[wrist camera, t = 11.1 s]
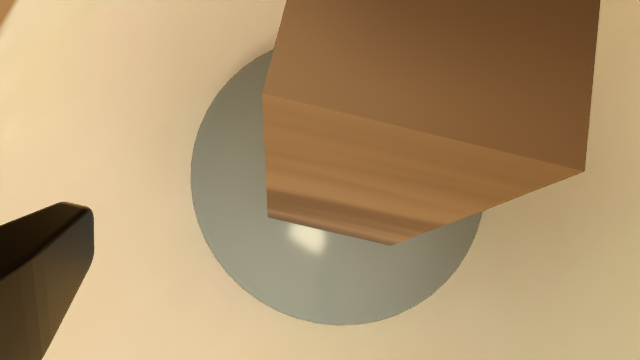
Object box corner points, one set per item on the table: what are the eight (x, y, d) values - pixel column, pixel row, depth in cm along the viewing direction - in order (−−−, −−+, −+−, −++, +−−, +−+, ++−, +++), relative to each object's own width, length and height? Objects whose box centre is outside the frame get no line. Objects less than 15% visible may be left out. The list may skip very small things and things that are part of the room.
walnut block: (390, 245, 20) (584, 171, 8) (267, 217, 19) (262, 92, 7) (412, 129, 21) (609, -99, 9) (296, 101, 21) (332, -173, 8)
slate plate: (494, 307, 21) (507, 308, 20) (202, 338, 19) (197, 342, 18) (450, 44, 23) (459, 31, 22) (189, 56, 22) (184, 42, 21)
